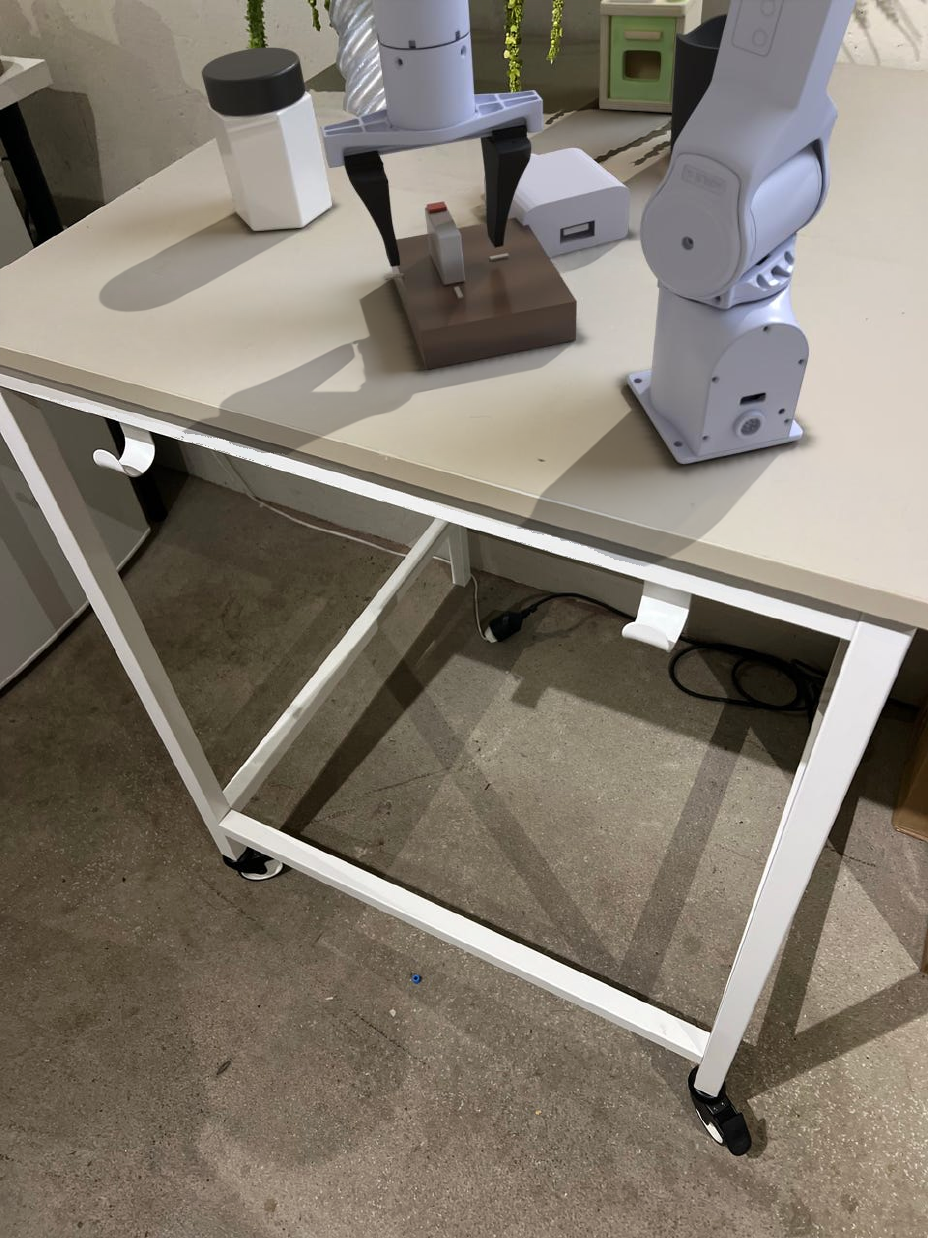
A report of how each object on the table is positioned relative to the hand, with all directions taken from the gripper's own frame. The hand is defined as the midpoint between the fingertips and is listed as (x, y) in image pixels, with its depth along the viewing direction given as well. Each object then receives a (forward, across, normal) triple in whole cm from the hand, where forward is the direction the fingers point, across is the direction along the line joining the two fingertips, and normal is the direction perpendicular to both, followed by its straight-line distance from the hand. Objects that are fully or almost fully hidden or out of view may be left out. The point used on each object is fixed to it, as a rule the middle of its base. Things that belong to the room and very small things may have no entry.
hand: (444, 250), depth 63 cm
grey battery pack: (+1, 0, 0) cm, 1 cm away
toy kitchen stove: (+4, -28, -33) cm, 44 cm away
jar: (+5, +11, -22) cm, 25 cm away
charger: (+5, -11, -12) cm, 17 cm away
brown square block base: (+4, -2, +1) cm, 5 cm away
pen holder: (+4, -29, -17) cm, 34 cm away
